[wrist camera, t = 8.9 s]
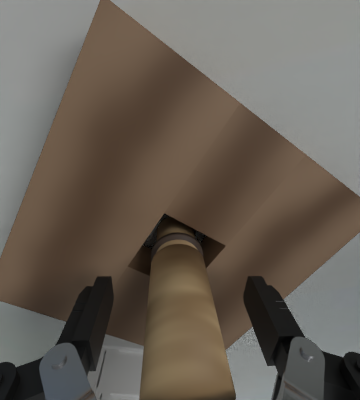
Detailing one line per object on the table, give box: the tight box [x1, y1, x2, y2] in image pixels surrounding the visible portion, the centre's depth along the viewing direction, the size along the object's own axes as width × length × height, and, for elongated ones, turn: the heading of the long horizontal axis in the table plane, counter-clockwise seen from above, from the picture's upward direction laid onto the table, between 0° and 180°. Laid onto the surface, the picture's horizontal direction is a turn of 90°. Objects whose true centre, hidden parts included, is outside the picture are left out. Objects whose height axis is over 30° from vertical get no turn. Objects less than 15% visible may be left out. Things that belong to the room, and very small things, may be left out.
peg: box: [139, 217, 236, 400], centre depth 13 cm, size 4×4×11 cm
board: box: [0, 0, 360, 350], centre depth 16 cm, size 20×20×3 cm
